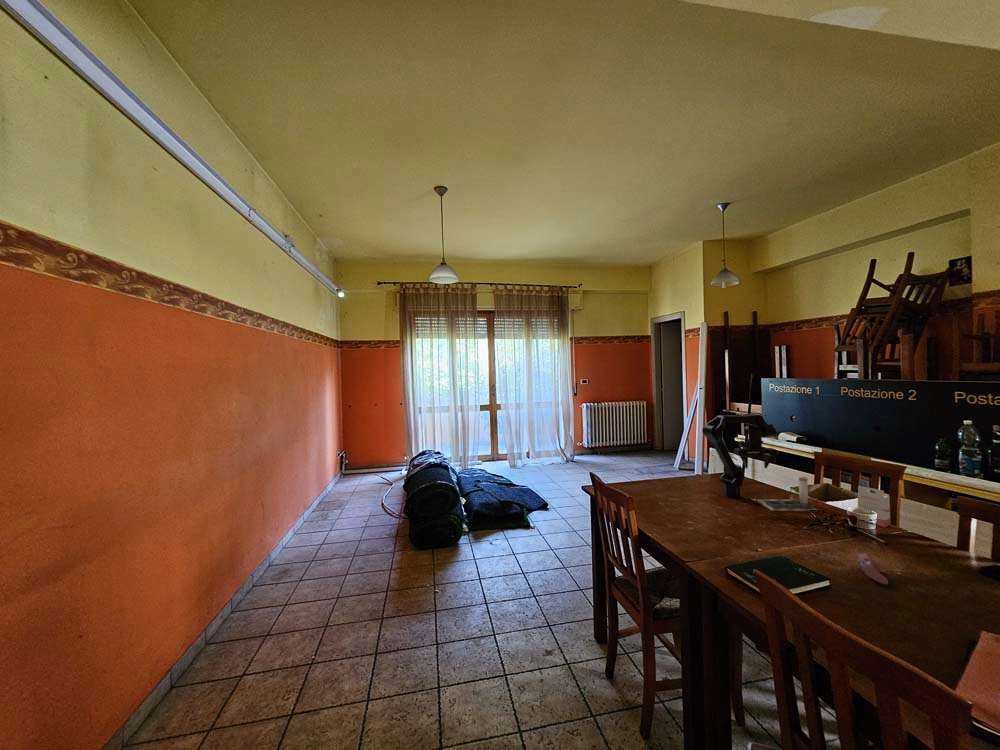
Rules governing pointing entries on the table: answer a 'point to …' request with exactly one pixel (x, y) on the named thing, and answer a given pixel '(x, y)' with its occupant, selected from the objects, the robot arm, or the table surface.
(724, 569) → the table surface
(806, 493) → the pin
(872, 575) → the pink rounded piece
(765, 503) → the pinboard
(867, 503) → the ink cartridge box
